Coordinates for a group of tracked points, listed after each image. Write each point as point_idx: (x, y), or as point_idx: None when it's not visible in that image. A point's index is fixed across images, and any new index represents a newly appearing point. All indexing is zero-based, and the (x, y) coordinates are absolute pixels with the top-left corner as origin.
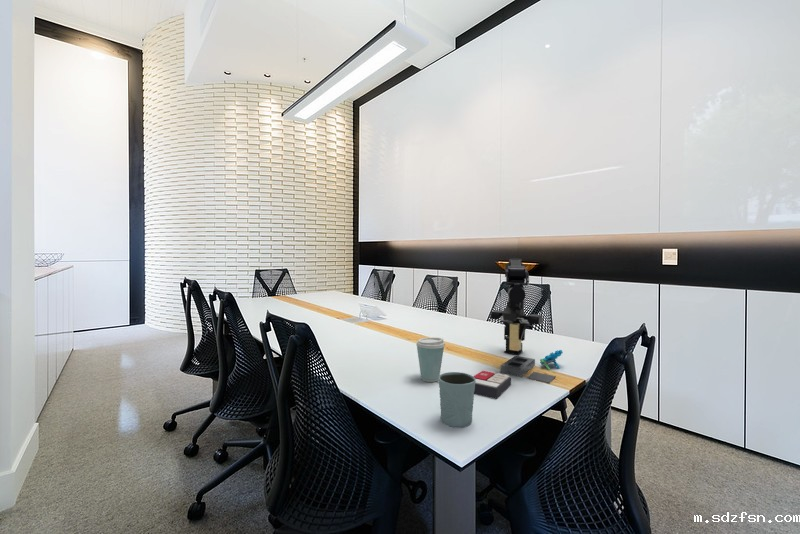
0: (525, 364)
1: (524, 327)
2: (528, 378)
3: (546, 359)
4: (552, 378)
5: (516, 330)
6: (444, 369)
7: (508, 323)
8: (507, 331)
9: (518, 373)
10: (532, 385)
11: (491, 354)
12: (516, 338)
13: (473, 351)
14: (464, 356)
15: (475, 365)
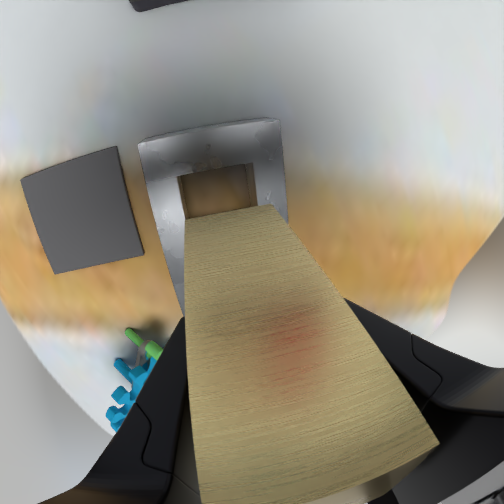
0: (174, 248)
1: (84, 486)
2: (107, 149)
3: (148, 370)
4: (41, 237)
5: (234, 391)
6: (453, 24)
7: (464, 435)
8: (394, 325)
9: (159, 136)
10: (54, 88)
11: (394, 312)
12: (214, 288)
13: (447, 288)
14: (462, 217)
15: (405, 140)
